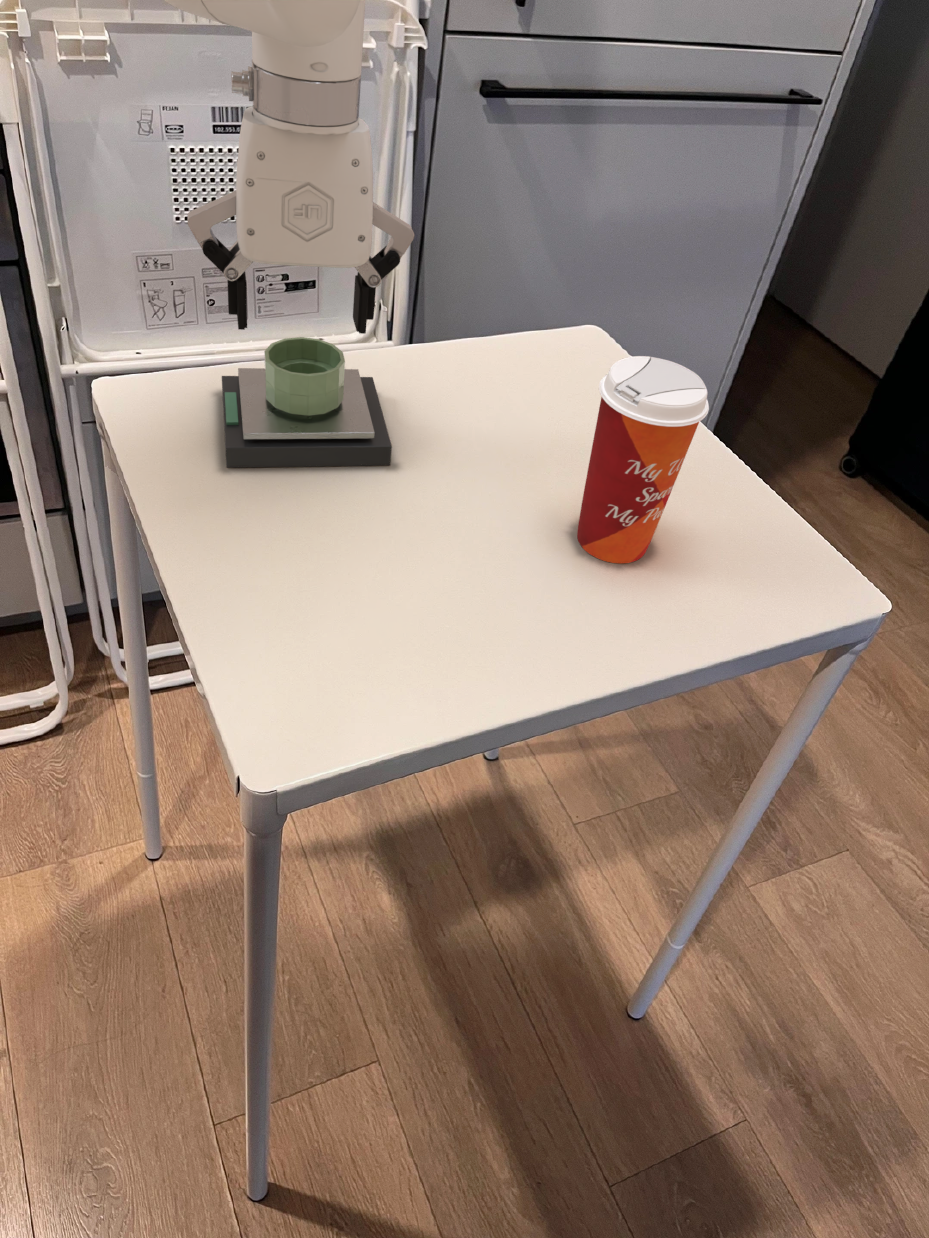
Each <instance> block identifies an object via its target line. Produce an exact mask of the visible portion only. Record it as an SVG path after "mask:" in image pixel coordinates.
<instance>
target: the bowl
mask: <svg viewBox="0 0 929 1238" xmlns="http://www.w3.org/2000/svg"><path fill="white" fill-rule="evenodd" d="M263 353H264V354H263V356H264V368H265V393H266V399H267V401H269V402H270V403H271V404H272V405H273V406H274V407H275V408H277V409H280V410H282V411H285V412H287V413H291V414H298V415H308V416H310V415H318V414H325V413H327V412H329V411H332V410H334V409H336V408H337V407H338V406H339V405H340V403H341V402H342V401H343V395H344V372H345V369H346V359H345V355H344V352H343V350H341V349H340V348H339V347H337V346H336V345H335V344H333V343H331V342H328V341H325V340H322V339H320V338H313V337H305V336H298V337H297V336H296V337H285V338H282V339H280V340H277V341H274V342H272V343H270V344H269V346H268V347H267V348H266V349H265V350H264V352H263Z"/></svg>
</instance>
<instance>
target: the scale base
mask: <svg viewBox="0 0 929 1238" xmlns="http://www.w3.org/2000/svg"><path fill="white" fill-rule="evenodd" d="M360 378H361V382H362V386H363V390H364V394H365V398H366V401H367V405H368V409H369V413H370V417H371V421H372V425H373V429H374V432H375V435H374V438H368V439H243V427H242V414H241V402H240V389H239V376H238V375H221V391H222V410H223V411H222V412H223V428H224V430H223V431H224V447H225V465H226V468H228V469H229V468H231V469H232V468H291V467H293V468H294V467H298V468H299V467H302V468H303V467H360V466H361V467H366V466H369V467H371V466H373V467H374V466H375V467H376V466H391V461H392V448H393V445H392V442H391V438H390V435H389V432H388V428H387V424H386V420H385V416H384V413H383V410H382V406H381V402H380V399H379V396H378V391H377V388H376V384H375V381H374V377H373V376H360Z"/></svg>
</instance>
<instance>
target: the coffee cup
mask: <svg viewBox="0 0 929 1238" xmlns="http://www.w3.org/2000/svg"><path fill="white" fill-rule="evenodd" d="M598 391H599V395H600V397H601V398H600V403H599V407H598V412H597V418H596V422H595V423H596V424H595V428H594V429H595V430H594V436H593V441H592V446H591V450H590V457H589V460H588V461H589V462H588V467H587V473H586V478H585V483H584V489H583V493H582V494H583V495H582V500H581V506H580V512H579V518H578V524H577V531H576V536H577V541H578V544H579V545H580V547H581V548H582V549H583V550H584V551H585V552H586V553H588V555H591V556H592V557H594V558H596V559H599V560H600V561H603V562H607V563H612V564H629V563H634V562H637V561H639V560H640V559H642V558H643V557H644V555H645V554H646V552H647V550H648V548H649V546H650V544H651V541H652V540H653V537H654V535H655V533H656V531H657V528H658V526H659V522H660V520H661V518H662V516H663V513H664V510H665V508H666V506H667V503H668V501H669V498H670V496H671V493H672V491H673V488H674V486H675V484H676V481H677V479H678V476H679V474H680V471H681V469H682V466H683V464H684V461H685V459H686V455H687V454H688V451H689V448H690V447H691V444H692V441H693V440H694V436H695V434H696V431H697V429H698V426H699V424H700V422H701V421H703V420H704V419H705V418H706V417H707V415H708V413H709V410H710V404H709V401H708V389H707V386H706V384H705V382H704V380H703V379H702V378H701V377H700V376H699V375H698V374H697V373H696V372H695V371H693V370H691V369H689V368H688V367H685V366H684V365H682V364H679V363H677V362H674V361H671V360H668V359H664V358H659V357H654V356H648V355H645V356H644V355H636V356H635V355H634V356H627V357H624V358H621V359H619V360H617V361H615V362H614V363H613V364H612V365H611V366H610V368H609V369H608V372H607V374H605V375H604V376H603V377H602V378H601V379H600V381H599V384H598Z"/></svg>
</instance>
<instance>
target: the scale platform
mask: <svg viewBox="0 0 929 1238" xmlns="http://www.w3.org/2000/svg"><path fill="white" fill-rule="evenodd" d="M237 374H238V375H237V376H239V389H240V402H241V414H242V427H243V439H368V438H374V435H375V432H374V429H373V425H372V421H371V417H370V413H369V409H368V405H367V401H366V398H365V394H364V390H363V386H362V382H361V378H360V377H361V374H360V370H359V369H358V368H357V369H356V368H345V372H344V395H343V401H342V402H341V403H340V405H339V406H338V407H337V408H336V409H334V410H332V411H329V412H327V413H325V414H318V415H310V416H308V415H298V414H291V413H287V412H285V411H282V410H280V409H277V408H275V407H274V406H273V405H272V404H271V403H270V402H269V401H267V399H266V393H265V367H264V368H263V367H262V368H261V367H238V368H237Z"/></svg>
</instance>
